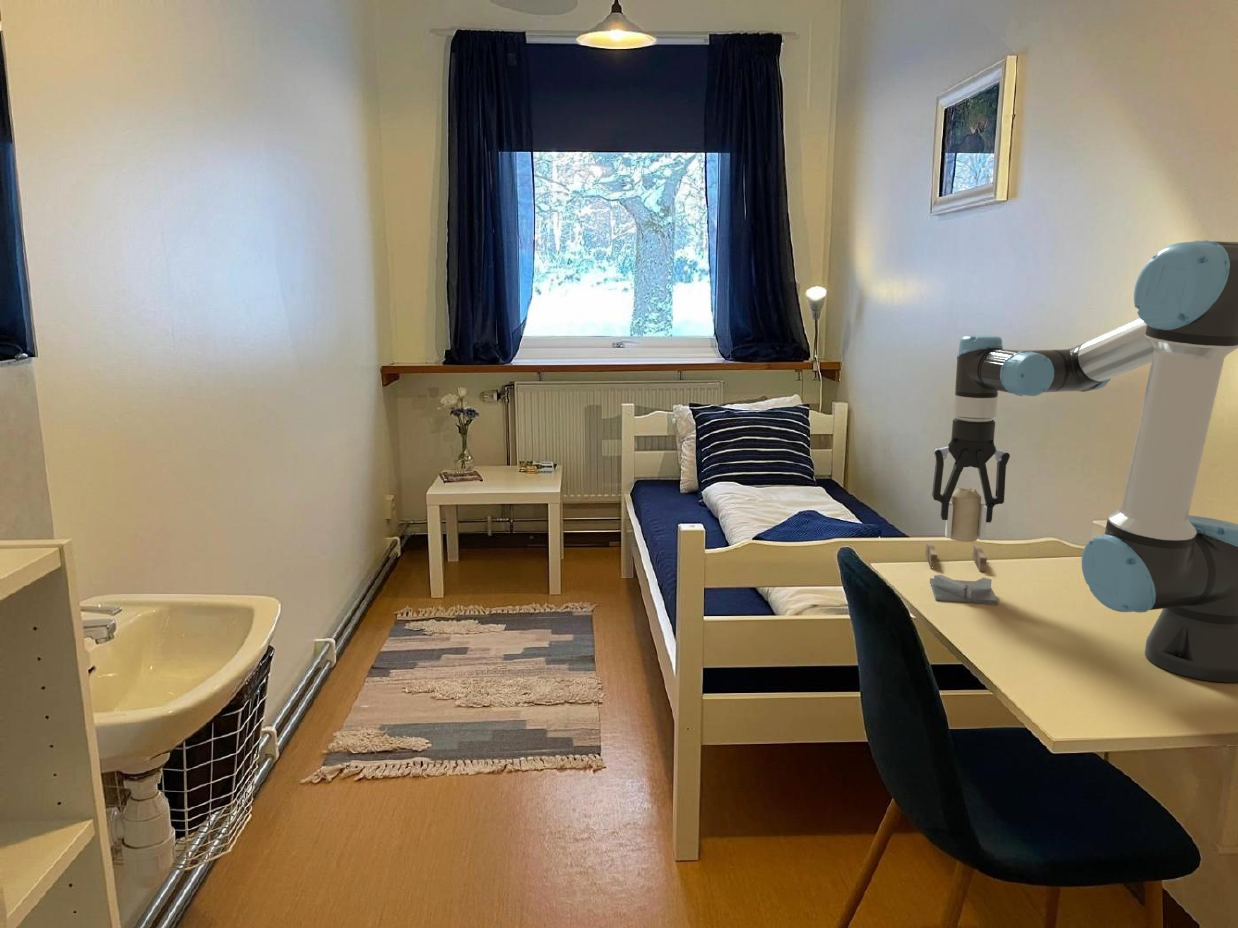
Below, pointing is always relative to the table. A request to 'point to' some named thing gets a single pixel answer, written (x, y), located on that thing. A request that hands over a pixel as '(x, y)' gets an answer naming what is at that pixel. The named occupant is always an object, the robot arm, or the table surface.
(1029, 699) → the table surface
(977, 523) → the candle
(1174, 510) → the robot arm
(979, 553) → the channel
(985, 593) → the v block
